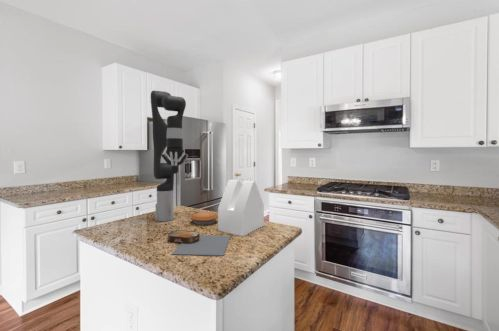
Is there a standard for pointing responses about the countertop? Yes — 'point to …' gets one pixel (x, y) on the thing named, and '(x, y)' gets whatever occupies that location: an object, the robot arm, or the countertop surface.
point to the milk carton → (240, 208)
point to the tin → (183, 236)
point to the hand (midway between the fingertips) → (175, 173)
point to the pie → (204, 218)
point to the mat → (204, 246)
